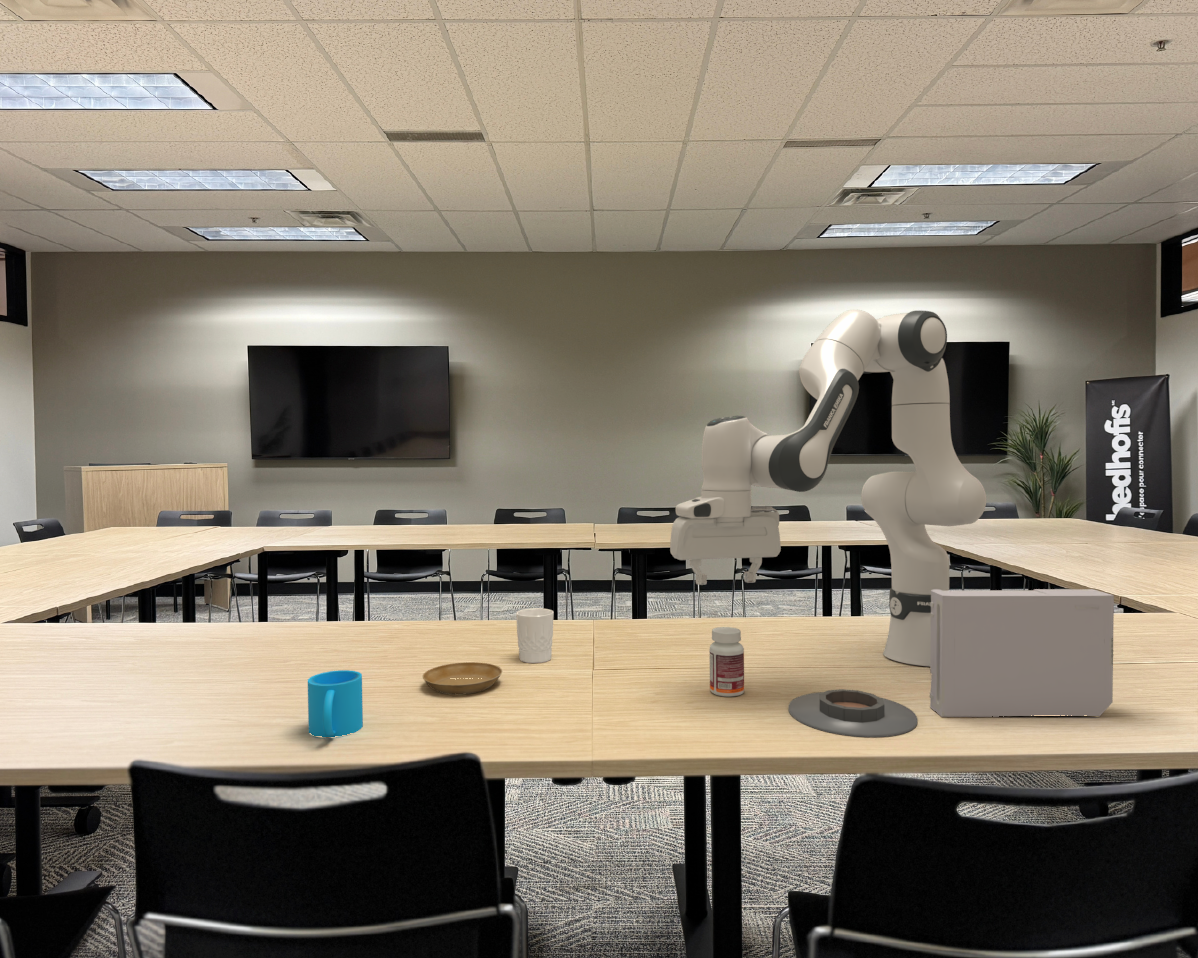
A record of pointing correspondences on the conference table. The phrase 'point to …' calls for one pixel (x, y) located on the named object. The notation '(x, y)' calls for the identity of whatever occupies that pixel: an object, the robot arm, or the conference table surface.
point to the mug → (335, 703)
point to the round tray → (855, 729)
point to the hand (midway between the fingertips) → (725, 583)
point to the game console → (1021, 652)
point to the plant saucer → (442, 674)
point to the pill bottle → (726, 662)
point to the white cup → (535, 634)
